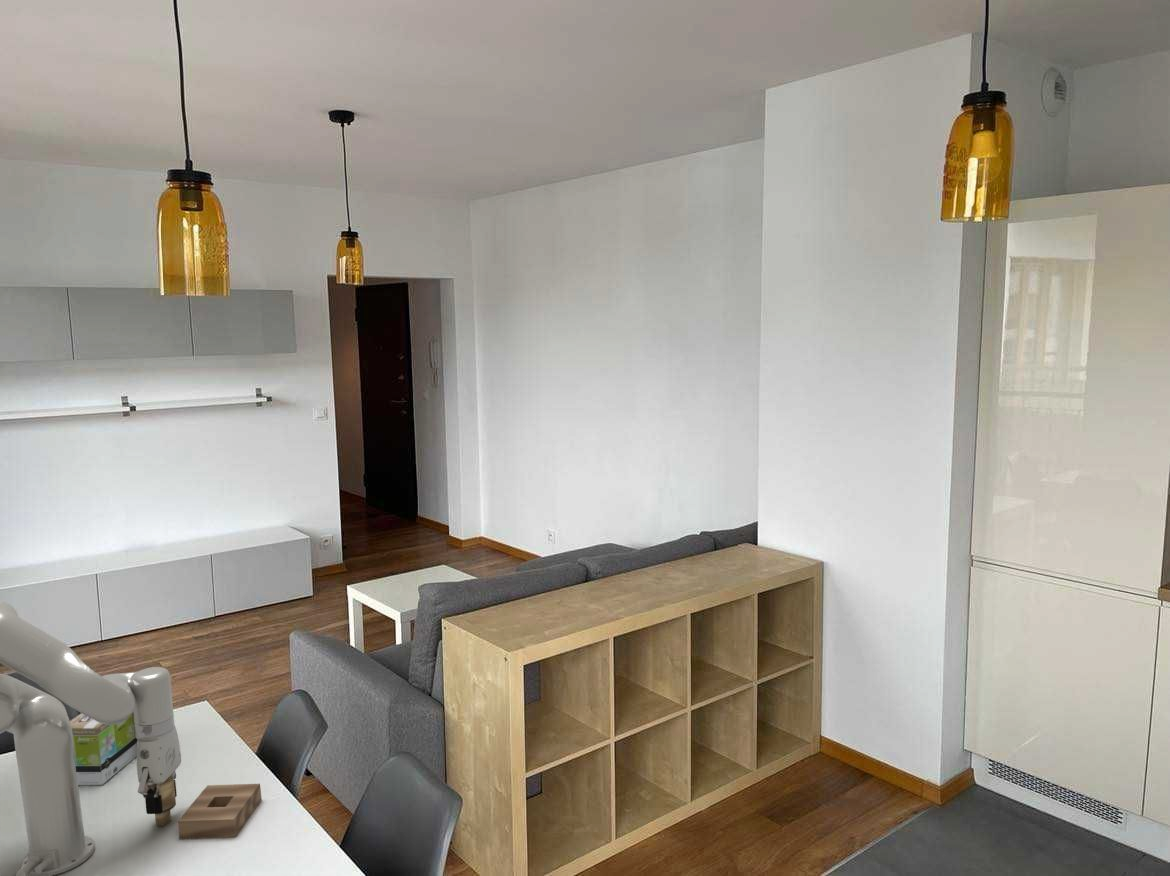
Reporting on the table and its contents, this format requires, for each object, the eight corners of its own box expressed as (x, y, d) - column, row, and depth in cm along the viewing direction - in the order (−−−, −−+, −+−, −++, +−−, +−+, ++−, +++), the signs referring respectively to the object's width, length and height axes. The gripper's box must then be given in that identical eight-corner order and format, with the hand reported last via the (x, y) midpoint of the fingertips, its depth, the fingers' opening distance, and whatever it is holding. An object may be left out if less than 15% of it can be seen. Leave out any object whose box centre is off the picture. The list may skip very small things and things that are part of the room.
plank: (235, 836, 177) (233, 819, 176) (179, 838, 177) (177, 821, 176) (261, 800, 191) (260, 783, 190) (209, 801, 191) (207, 785, 190)
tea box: (104, 786, 200) (97, 727, 198) (63, 786, 200) (56, 728, 198) (140, 754, 215) (134, 699, 213) (102, 755, 215) (96, 700, 213)
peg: (169, 828, 180) (165, 787, 179) (144, 829, 180) (140, 787, 179) (181, 814, 186) (178, 774, 185) (157, 815, 186) (153, 774, 185)
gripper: (151, 744, 172) (159, 827, 174) (191, 708, 189) (197, 784, 191) (115, 745, 172) (123, 828, 174) (158, 709, 189) (164, 785, 191)
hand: (161, 804), depth 183 cm, fingers closed on peg, 5 cm apart
